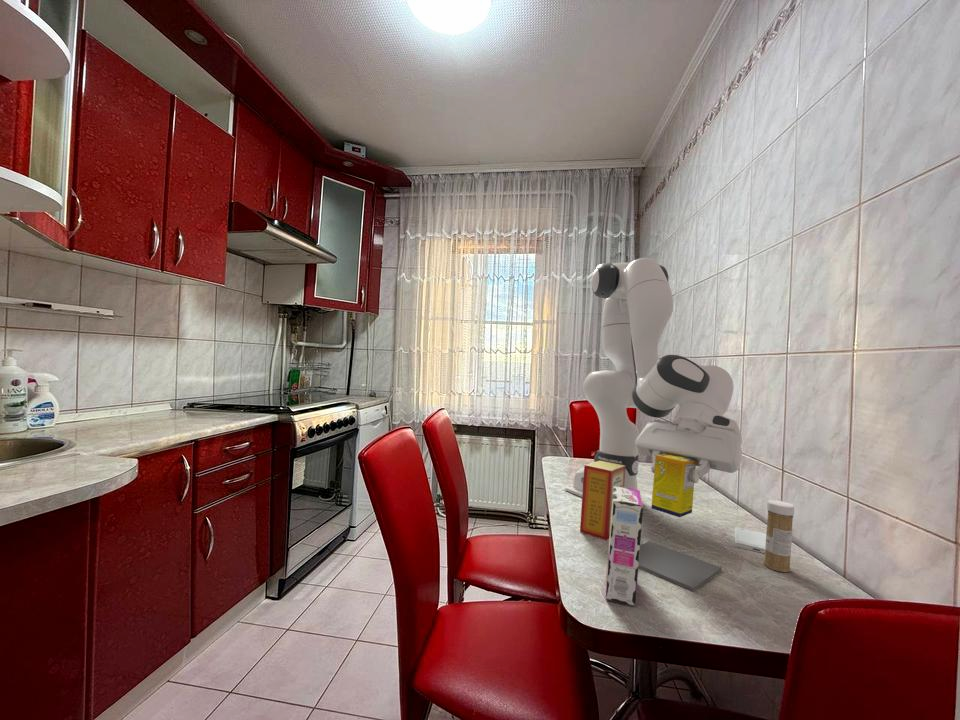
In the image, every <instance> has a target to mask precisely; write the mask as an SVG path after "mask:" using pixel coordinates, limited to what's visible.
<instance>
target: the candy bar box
mask: <svg viewBox="0 0 960 720" xmlns="http://www.w3.org/2000/svg"><path fill="white" fill-rule="evenodd" d="M643 512H644V504H643V501H642V496H641V492H640V489H638V490H635V489H630V488H623V487H616V486H614V489H613V498H612V510H611V522H610V535H609V539H608V550H607V551H608V552H607V563H606V564H607V565H606V581H605V586H606V587H605V600H607V601H611V602H615V603H619V604H623V605H625V606H630V607H636V601H637V590H638V589H637V588H638V578H639V568H638V567H639V554H640V545H641V539H642V526H643V514H644V513H643Z"/></svg>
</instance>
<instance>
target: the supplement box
mask: <svg viewBox="0 0 960 720" xmlns="http://www.w3.org/2000/svg"><path fill="white" fill-rule="evenodd" d="M696 467H697V466H696V459H692V458H687V457H682V456H678V455H673V454H663V455H656V459H655V471H654V473H653V483H652V484H653V485H652V493H651V494H652V496H651V509H652V510H655V511H657V512H661V513H664V514H668V515H670V516H675V517H677V518H682V517H684V516H687V515H689V514H693V506H694V505H693V504H694V503H693V502H694V491H695V490H694V488H695V487H694V486H695V483H693V482H689V479H688V478H687V476H688V474H689V471H690V470H696V469H697V468H696Z"/></svg>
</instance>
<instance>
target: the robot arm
mask: <svg viewBox="0 0 960 720" xmlns="http://www.w3.org/2000/svg"><path fill="white" fill-rule="evenodd" d="M590 281H591V282H590V283H591V284H590V285H591V289H592V292H593V294H594V295H595V297H598V298H600V299H605V301H604V305H603V310H602V317H601V318H602V319H601V320H602V322H601V326H602V327H601V330H602V331H601V332H602V334H601V335H602V337H601V338H602V340H601V341H602V352H603V354H604V356H605V357H606V358H607V359H609V360H610V361H611V362H612V364H613V365H614V368H615V370H607V369H605V370H598V371H593V372H589V373H588V375H586V377H585V379H584V381H583V384H582V385H583V386H582V390H583V395H584V397H585V400H587V401H586V402H589V404H590V405H592V407H593V409H594V410H595V412H596V414H597V418H598V421H599V429H600V430H599V433H600V434H599V449H598V450H596V451H591V456H592V457H593V456H594V458H593V460H592V462H597V461H605V462H610V463H615V464H620V465H625V466H626V467H625V483H624V488H630V489H635V490H639V489H638V473H639V464H640V463H639V458H640V457H639V454H640V455H643V456H648V457H652V462H653V463H652V465H651V467H650V470H651V472H652V473H653V474H654V471H655V459H656V455H663V454H673V455H678V456H682V457H687V458H692V459H696V467H697V468H695V470H690V471H689V474H688V476H687V478H688V479H689V482H693V483H694V484H698V482H699V480H700V478H702V477H703V476H705V475H707V474H708V473H710V470H715V471H720V472H724V473H730V474H733V473H735V472H737V471H739V469H740V466H741V462H742V458H743V451H742V448H741V446H742V444H743V439H742V434H741V430H740V428H739V427H740V426H739V425H738V423H737V421H735V420H734V419H732V418H728V417H726V416H723V415H725V414H726V413H727V411H728V409H729V407H730V403H731V402H732V401H731V400H732V397H733V395H734V387H735V386H734V381H733V378H732V375H731V374H730V372H728V371H727V370H725V369H724V368H722V367H720V366H719V365H718V366H717V365H712V364H708V365H707V364H706V365H702V364H698V363H695V361H692V360H691V359H689V358H687V357H684V356H682V355H679V354H666V355H663V356H662V357H661V358H659V354H658V351H659V350H658V347H659V343H660V340H661V337H662V335H663V333H664V330H665V328H666V327H667V324H668V323H669V321H670V319H671V317H672V314H673V312H674V297H673V294H672V293H673V292H672V290H671V286H670V284H669V273H668V271H667V268H666V267H665V266H663V265H661V264H659V263H658V261H656V260H655V259H652V258H650V257H639V258H637V259H634V260H633V261H631V262H630V261H629V262H612V263H611V262H604V263H600V264H598V265H597V266H596V267H595V268H594V269H593V272H592V276H591V280H590ZM677 405H678V406H679V407H678V410H677V412H676V414H675V416H674V418H673V420H672V421H666V420H665V421H664V420H658V419H659V418H665V417H667V416H668V415H670V413H671V412H672V411H673V410H674V409H675V408H676V406H677ZM628 408H633V409H638V410H639V411H640V413H641V412H642V413H643V414H644V415H646V416H648V417H652V418H657V419H655V420H653V421H649V422H647V423H646V424H645V426H644V428H642V430H641V431H639V428H638V427H637V425H636V424H635V423H634V422H632V421H631V420H630V419H629V416H628V412H627V409H628ZM592 462H590V463H592ZM583 480H584V466H583V467H581V468H579V469H578V470H577V471H576V472H575V475H574V477H573V482H572V483H569V484H567V485H566V486H565V488H564V489H565V491H566V492H568V493H571V494H573V495H576V496H578V497H580V498H582V494H583Z"/></svg>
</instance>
